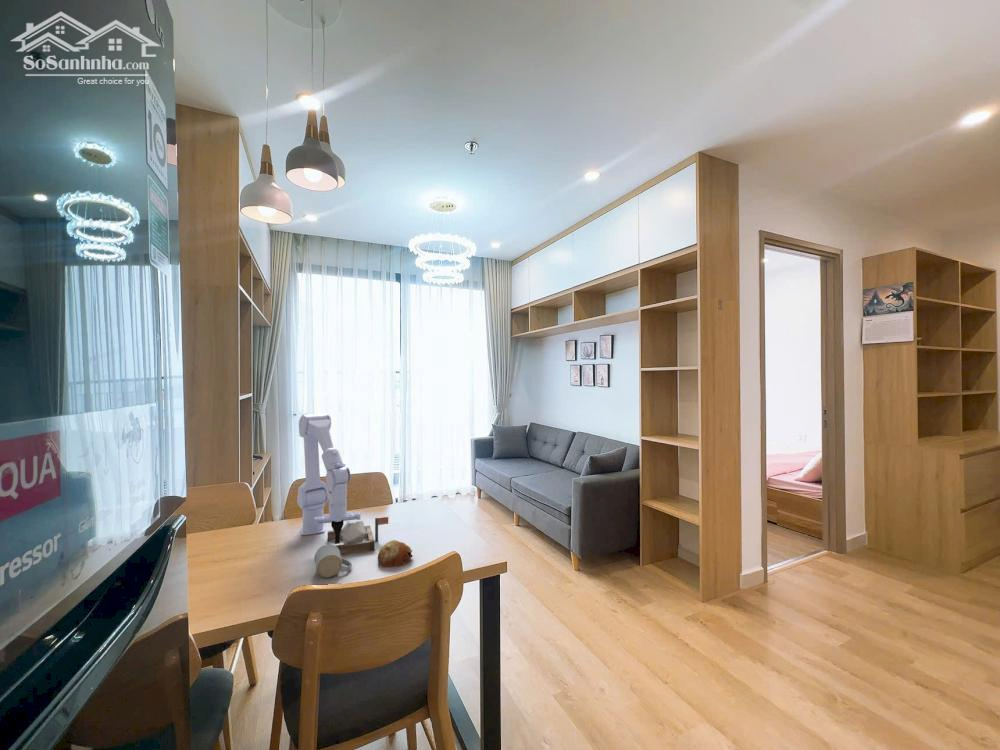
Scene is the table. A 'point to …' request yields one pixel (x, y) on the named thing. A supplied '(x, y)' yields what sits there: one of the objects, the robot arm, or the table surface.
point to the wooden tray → (360, 546)
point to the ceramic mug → (330, 561)
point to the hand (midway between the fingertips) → (337, 542)
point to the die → (353, 532)
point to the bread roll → (394, 554)
